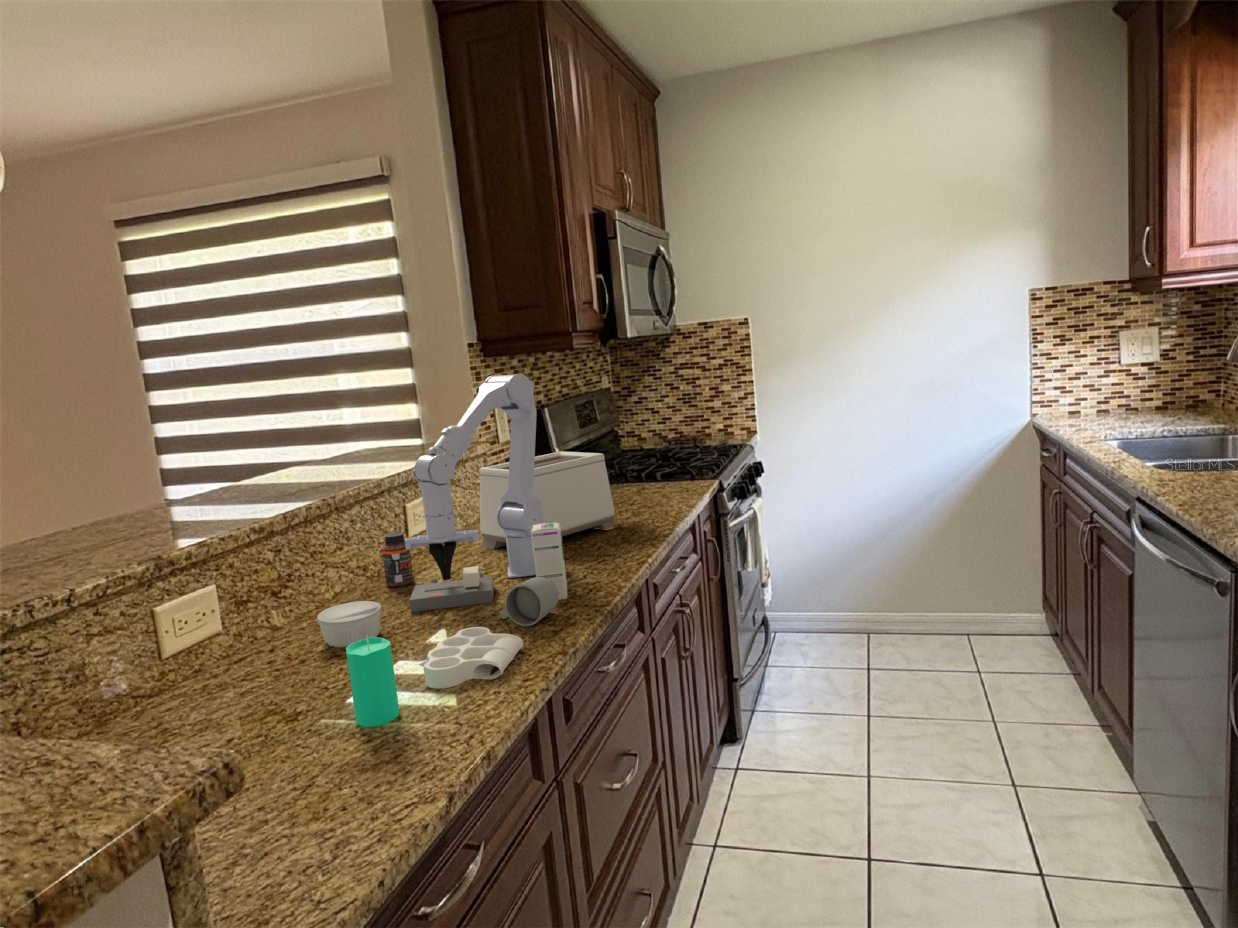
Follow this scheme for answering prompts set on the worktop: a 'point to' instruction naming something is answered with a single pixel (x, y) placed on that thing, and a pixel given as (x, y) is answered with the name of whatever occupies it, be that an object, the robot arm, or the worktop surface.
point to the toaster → (552, 494)
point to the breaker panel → (450, 594)
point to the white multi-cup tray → (469, 657)
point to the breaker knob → (471, 576)
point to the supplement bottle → (396, 561)
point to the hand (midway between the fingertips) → (447, 578)
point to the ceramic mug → (530, 601)
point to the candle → (372, 681)
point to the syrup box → (549, 555)
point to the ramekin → (350, 622)
